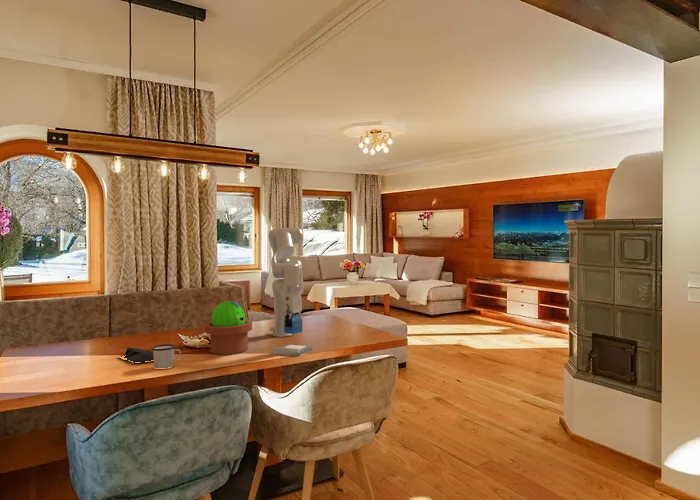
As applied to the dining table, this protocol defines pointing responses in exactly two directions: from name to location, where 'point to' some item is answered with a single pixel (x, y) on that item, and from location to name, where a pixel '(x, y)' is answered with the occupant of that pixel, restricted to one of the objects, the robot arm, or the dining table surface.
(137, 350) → the black folded cloth
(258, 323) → the dining table surface
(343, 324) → the dining table surface
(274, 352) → the grey square slab
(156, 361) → the mug
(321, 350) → the dining table surface
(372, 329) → the dining table surface
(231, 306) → the potted cactus
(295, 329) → the perfume bottle
